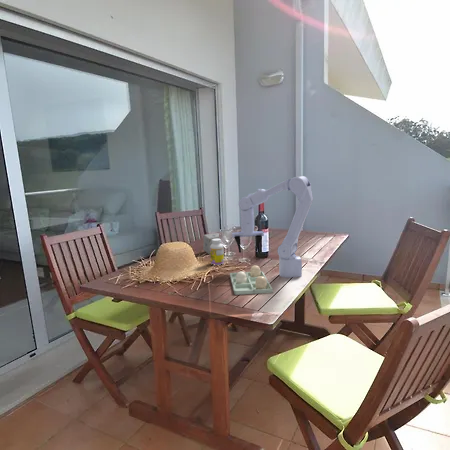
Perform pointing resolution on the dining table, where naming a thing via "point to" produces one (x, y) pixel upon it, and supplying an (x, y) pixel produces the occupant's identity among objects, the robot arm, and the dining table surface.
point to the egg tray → (249, 285)
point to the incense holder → (209, 241)
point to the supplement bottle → (216, 252)
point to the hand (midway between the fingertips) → (248, 251)
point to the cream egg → (241, 278)
